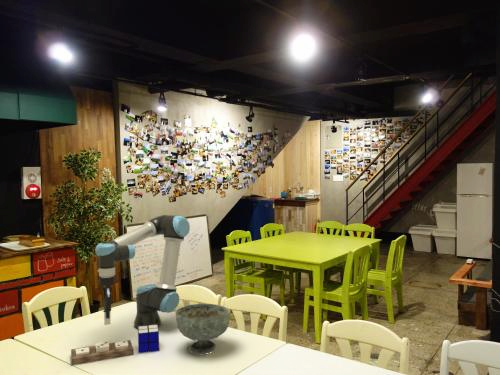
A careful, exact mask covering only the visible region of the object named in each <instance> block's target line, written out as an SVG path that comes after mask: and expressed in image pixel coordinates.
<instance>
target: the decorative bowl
mask: <svg viewBox="0 0 500 375" xmlns="http://www.w3.org/2000/svg"><path fill="white" fill-rule="evenodd" d="M230 315H231V310H230V309H229V308H228V307H226V306H224V305H220V304H214V303H194V304H188V305H184V306H182V307H179V308H178V309H176V311H175V322H176V325H177V329H178V331H179V332H180V333H181V335H182V336H183V337H186V338H187V339H189V340H192V341H194V342H193V343H192V344H191V345H190V346H189V351H190V353H191V354H194V355H200V354H203V355H207V354H206V353H209V354H211V353H210V352H212V351H213V352H214V351H215V350H216V344H215V343H214V342H213V341H212V340H214V339H217V338H219V337H220V336H222V335H223V334H225V333H226V331H227V330H228V328H229V324H230ZM213 352H212V353H213Z"/></svg>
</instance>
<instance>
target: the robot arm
mask: <svg viewBox="0 0 500 375" xmlns="http://www.w3.org/2000/svg"><path fill="white" fill-rule="evenodd" d="M190 226H191V225H190V222H189V220H188V218H186V217H185V216H180V215H171V214H168V215H167V214H163V215H159V216H156V217H152V218H151V219H149V220H147V221H145V222H144V223H143V225H141V226H138V227H137V228H134V229H132V230H131V231H128V232H126V233H124V234H122V235H120V236H118V237H117V238H114V239H112V240H110V241H108V242H100V243H98V244H97V245H96V247H95V251H94V252H95V255H96V256H97V257H98V269H97V273H98V276H99V277H98V285H99V286H101V287H102V295H103V311H102V312H103V313H104V314H103V318H104V319H103V320H104V326H109V325H111V311H112V292H113V289H112V285H115V284H116V276H115V275H116V263H118V262H123V261H124V262H125V261H128V260H132V259H134V258H135V256H136V249H135V247H134V245H137V244H138V243H140V242H142V241H144V240H146V239H148V238H149V237H150V238H153V237H156V236H159V235H163V239H164V241H165V244H164V250H163V257H162V263H161V270H160V275H159V282H158V283H157V284H156V283H155V284H152V283H151V284H145V285H140V286H138V287H137V288H136V294H135V295H136V300H135V301H136V315H135V319H134V322H133V328H135V329H136V330H138V327H140V326H149V325H158V326H159V327H160V326H161V325H162V320H161V317H160V314H159V312H161V313H167V314H168V313H172V312H174V311H175V310H177V308H178V305H179V304H180V296H179V294H178V292H177V287H176V285H175V284H176V275H177V269H178V262H179V256H180V251H181V244H182V243H183V242H184V240H185V237H187V236H188V234H189V233H190V230H191V228H190Z"/></svg>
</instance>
